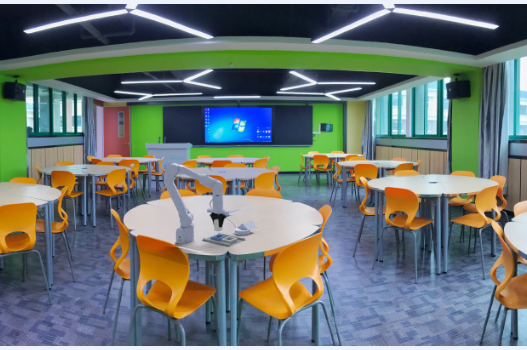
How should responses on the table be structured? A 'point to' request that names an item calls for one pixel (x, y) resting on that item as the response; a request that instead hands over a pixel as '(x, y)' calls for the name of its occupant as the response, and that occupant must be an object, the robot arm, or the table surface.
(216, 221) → the plug
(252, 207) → the table surface
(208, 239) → the grey tray
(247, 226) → the wedge on round base
